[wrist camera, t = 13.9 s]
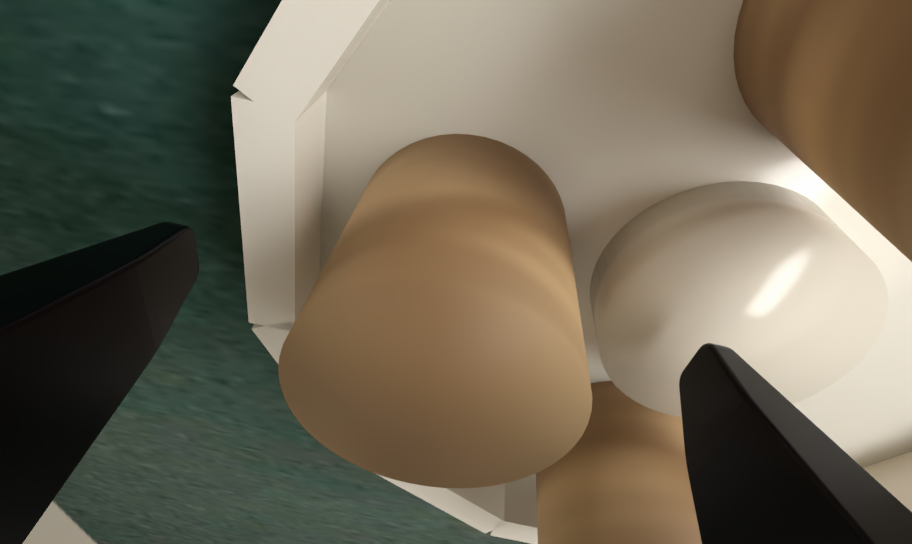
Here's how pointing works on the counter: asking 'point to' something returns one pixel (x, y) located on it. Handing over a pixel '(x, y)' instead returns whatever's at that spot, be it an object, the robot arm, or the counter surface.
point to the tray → (588, 200)
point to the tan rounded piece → (619, 479)
